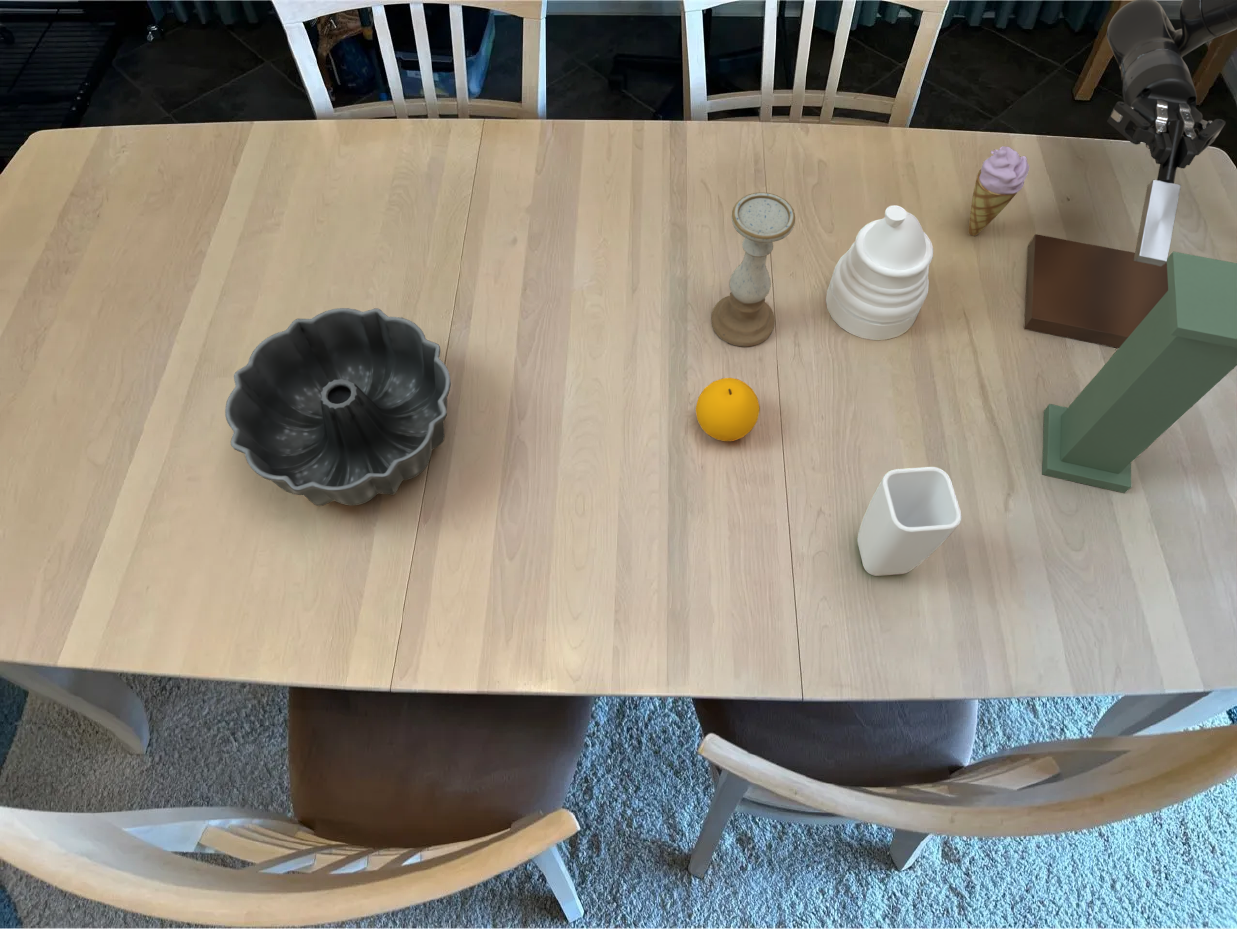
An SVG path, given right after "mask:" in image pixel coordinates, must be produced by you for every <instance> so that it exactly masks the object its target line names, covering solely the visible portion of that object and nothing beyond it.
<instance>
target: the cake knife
mask: <svg viewBox="0 0 1237 929" xmlns="http://www.w3.org/2000/svg"><path fill="white" fill-rule="evenodd" d="M1184 126H1185V123H1184V121H1182V120H1173V121H1170V122H1169V123H1168V124H1167V131H1166V133H1167V134H1169V137H1170V140H1171V144H1172V151H1171V153H1170V155H1169V157H1168V158H1167V160H1166V161H1165V163H1164V164H1163V165H1161V164H1159V167H1158V173H1157V177H1156V179H1152V180H1151V181H1150V182H1149V183H1148V184H1147V186H1146V190H1145V196H1144V201H1143V207H1142V211H1141V217H1140V223H1139V229H1138V233H1137V239H1136V245H1135V250H1134V253H1135V255H1134V261H1137V262H1142V263H1147V264H1152V265H1157V266H1162V265H1164V264H1165V263H1166V262H1167V258H1168V257H1169V256H1170V250H1171V244H1172V238H1173V233H1174V232H1173V231H1174V228H1175V221H1176V215H1177V209H1178V204H1179V199H1180V193H1181V188H1182V184H1180V183H1175V181H1176V176H1177V170H1178V167H1177V165H1178V159H1179V154H1180V148H1181V142H1182V137H1183V131H1184Z"/></svg>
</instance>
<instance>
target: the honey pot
mask: <svg viewBox="0 0 1237 929" xmlns="http://www.w3.org/2000/svg"><path fill="white" fill-rule="evenodd" d="M933 259H934V247H933V243H932V240H931V239H930V238H929V236H928V235H927V233H926V232H925V231H924V229H923V227H922V225H921V223H920V221H919V219H918V218H917V217H916V216H915V215H914V214H912V213H911V212H908V211H907V210H906V209H905V208H904V207H902V206H900V205H896V204H895V205H894V204H891V205H889V206H887V207H886V209H885V211H884V217H883V218H879V219H876V220H872V221H871V222H868V223H866V224H864V226H862V228H860V230H859V231H858V232H857V234H856V236H855V241H854V242H853V243H852V244H851V246H850V247H849V248H848V249H847V251H846V252H845V253H844V254H843V255H841V257H839V259H838V261H837V263H836V264H835V266H834V268H833V272H832V276H831V277H830V282H829V284H828V287H827V291H826V296H825V305H826V309H827V311H828V314H829V315H830V317H831V319H832V321H834V322H835V323H836V324H837V326H839V327H840V328H841V329H842V330H844V331H845V332H847V333H848V334H851V335H853V336H856V337H858V338H861V339H865V340H871V341H886V340H890V339H894V338H898V337H900V336H901V335H903V334H905V333H907V331H909V330H910V328H912V326H913V325H914V324H915V321H916V320H917V317H918V315H919V313H920V312H921V309H922V307H923V305H924V302H925V301H926V298H927V296H928V293H929V286H930V284H929V283H930V281H929V280H930V279H929V271H930V265H931V262H932V261H933Z"/></svg>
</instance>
